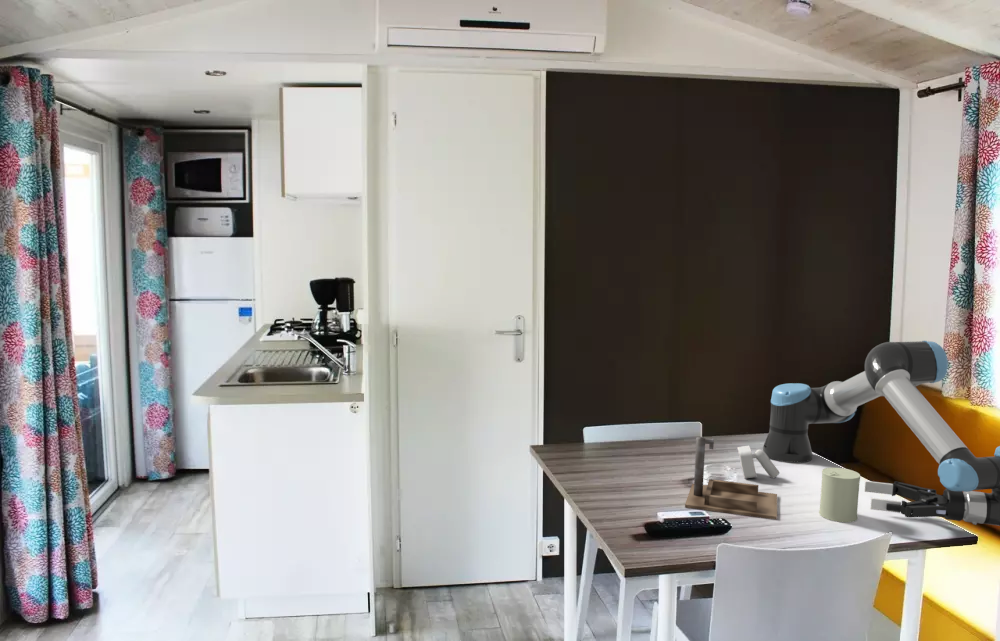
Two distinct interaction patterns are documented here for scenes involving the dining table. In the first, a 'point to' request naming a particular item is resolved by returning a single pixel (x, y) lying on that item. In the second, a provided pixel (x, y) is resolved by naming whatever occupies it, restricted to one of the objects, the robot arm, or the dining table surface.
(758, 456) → the wall hook
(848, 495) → the can
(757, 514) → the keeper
